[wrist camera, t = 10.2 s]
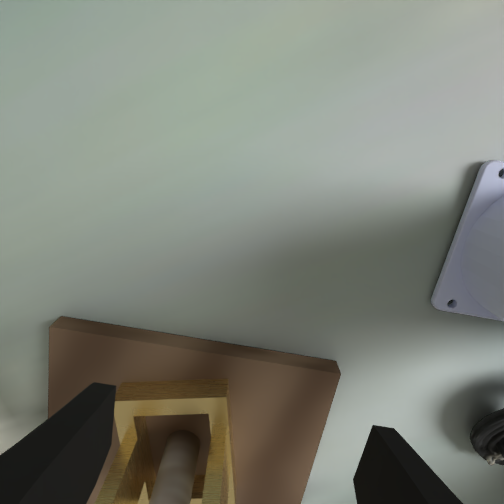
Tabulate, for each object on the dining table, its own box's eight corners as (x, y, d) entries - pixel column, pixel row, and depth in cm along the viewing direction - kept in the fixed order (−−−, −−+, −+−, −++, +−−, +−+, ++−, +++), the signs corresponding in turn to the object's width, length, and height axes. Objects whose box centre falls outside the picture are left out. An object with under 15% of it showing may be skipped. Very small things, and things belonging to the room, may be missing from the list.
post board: (336, 361, 20) (368, 445, 15) (288, 518, 24) (299, 633, 18) (61, 316, 20) (-19, 387, 14) (57, 486, 23) (-7, 597, 18)
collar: (228, 378, 19) (219, 465, 14) (236, 486, 22) (231, 594, 16) (121, 382, 19) (73, 470, 14) (141, 488, 22) (106, 598, 17)
